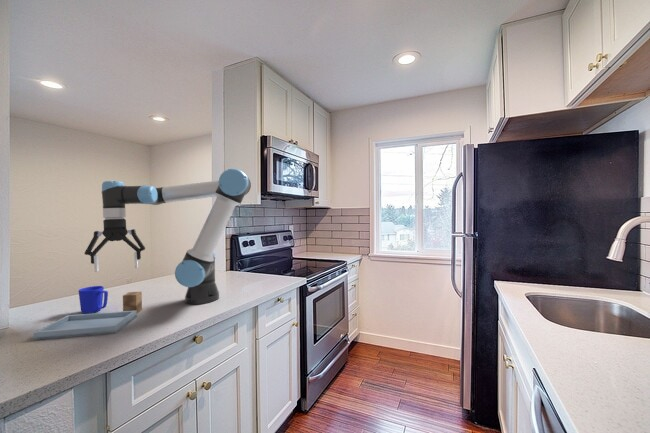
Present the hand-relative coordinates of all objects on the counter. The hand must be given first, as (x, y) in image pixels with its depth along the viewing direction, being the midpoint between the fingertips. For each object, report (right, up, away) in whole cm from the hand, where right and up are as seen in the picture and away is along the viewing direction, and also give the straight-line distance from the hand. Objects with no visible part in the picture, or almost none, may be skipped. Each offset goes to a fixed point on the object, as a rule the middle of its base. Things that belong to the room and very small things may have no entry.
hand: (117, 269), depth 116 cm
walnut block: (+5, -18, +2) cm, 19 cm away
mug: (-11, -19, +2) cm, 22 cm away
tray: (0, -19, -14) cm, 23 cm away
